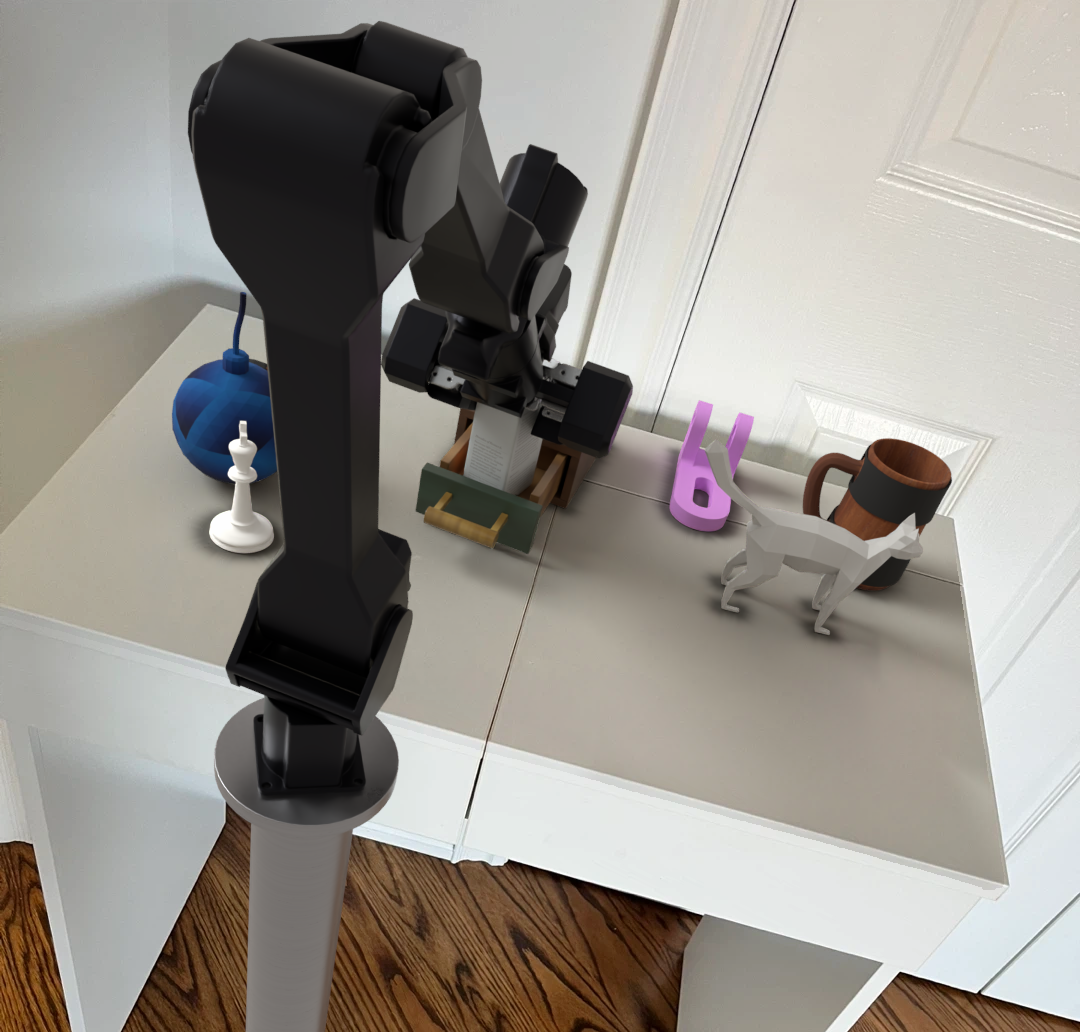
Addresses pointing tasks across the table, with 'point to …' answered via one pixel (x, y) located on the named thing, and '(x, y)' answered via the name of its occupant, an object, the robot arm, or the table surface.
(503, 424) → the cosmetic box
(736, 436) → the bracket
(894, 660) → the table surface
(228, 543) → the chess piece
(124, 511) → the table surface
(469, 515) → the drawer
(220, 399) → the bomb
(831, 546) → the cat figurine
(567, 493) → the cabinet
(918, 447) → the mug
